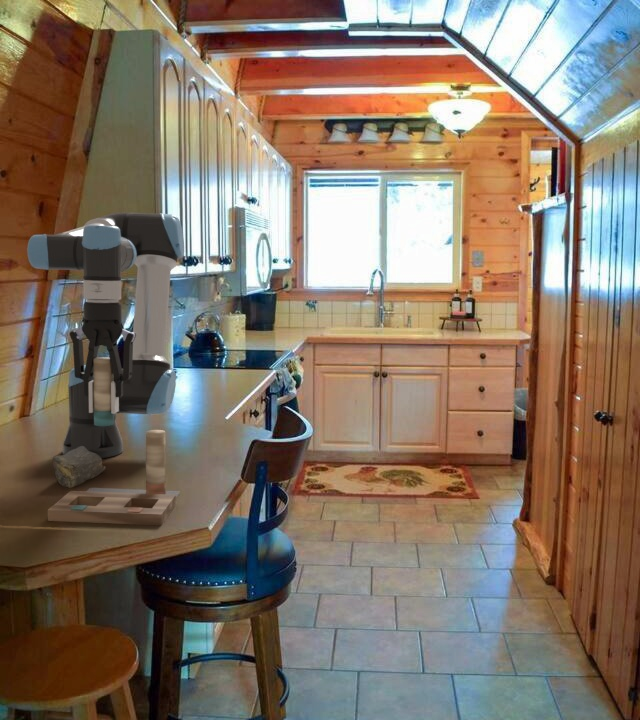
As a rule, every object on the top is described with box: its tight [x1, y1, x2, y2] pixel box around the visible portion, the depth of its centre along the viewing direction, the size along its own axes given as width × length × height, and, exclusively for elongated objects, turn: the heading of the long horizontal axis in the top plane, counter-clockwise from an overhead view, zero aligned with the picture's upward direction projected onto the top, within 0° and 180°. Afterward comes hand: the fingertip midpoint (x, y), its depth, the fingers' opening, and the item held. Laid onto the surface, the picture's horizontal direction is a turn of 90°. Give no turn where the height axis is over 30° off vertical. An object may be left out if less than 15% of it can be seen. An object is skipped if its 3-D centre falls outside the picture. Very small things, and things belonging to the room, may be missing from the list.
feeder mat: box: [86, 487, 182, 498], centre depth 159 cm, size 8×20×1 cm, turn 88°
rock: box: [52, 446, 106, 489], centre depth 170 cm, size 17×7×10 cm
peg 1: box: [93, 356, 114, 426], centre depth 156 cm, size 4×4×14 cm
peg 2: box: [145, 429, 167, 494], centre depth 158 cm, size 4×4×14 cm
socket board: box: [47, 490, 177, 526], centre depth 148 cm, size 12×22×3 cm, turn 88°
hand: (104, 411), depth 157 cm, fingers closed on peg 1, 4 cm apart
